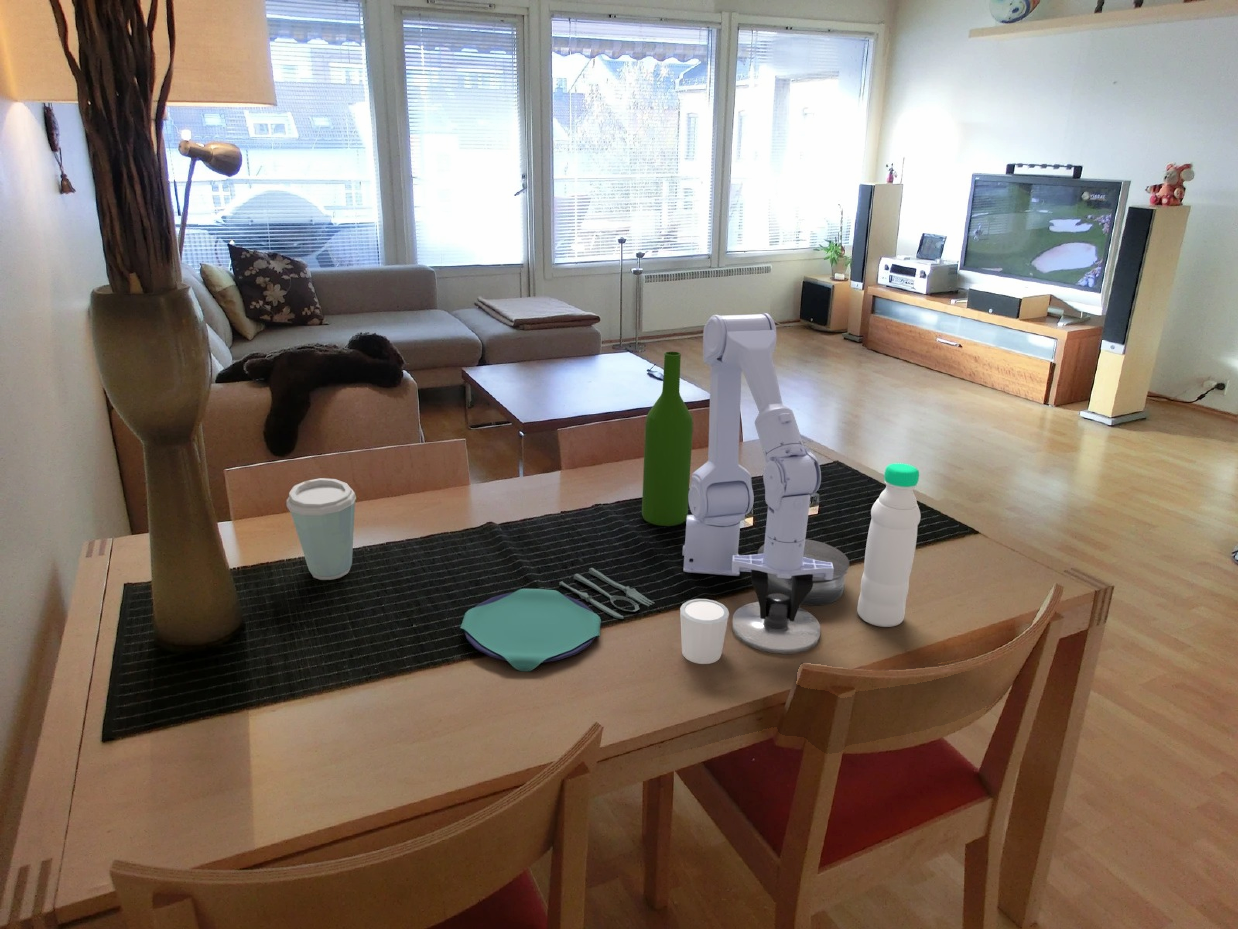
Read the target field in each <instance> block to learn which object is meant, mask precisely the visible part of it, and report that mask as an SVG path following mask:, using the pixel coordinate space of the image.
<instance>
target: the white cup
mask: <svg viewBox="0 0 1238 929" xmlns="http://www.w3.org/2000/svg"><path fill="white" fill-rule="evenodd" d="M679 612H680V613H679V614H680V616H679V617H680V635H681V636H680V637H681V638H680V639H681V640H680V641H681V653H682V656H683V657H684V658H685V659H686V660H688V661H689V662H692V663H695V664H698V665H699V664H700V665H705V664H706V665H708V664H709V665H710V664H713V663H716V662H717V661H718V660H720V658H721V657H722V653H723V647H724V643H725V642H724V641H725V638H726V632H727V626H728V621H729V616H730V612H729V609H728V608H727V607H726V606H725V605H724V604H723V603H721V602H719V601H716V600H713V599H708V598H695V599H689V600H687V601H686V602H684V603H682V605H681V606H680V608H679Z"/></svg>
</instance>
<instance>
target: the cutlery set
mask: <svg viewBox="0 0 1238 929" xmlns="http://www.w3.org/2000/svg"><path fill="white" fill-rule="evenodd" d="M588 573H589V575H592V576H595V577H596V578H598V579H600V580H601V581H603V582H604V583H606V584H608V585H610V586H612V587H614V588H616V589H619V590H621V591H623V593H625V596H622V595H610V594H609V593H608V592H607V591H605V590H604V589H602V588H601V587H599V586H598V585H597V584H595V583H593V582H592V581H590V580H589V579H587V578H585V577H584V576H582V575H581V574H579V573H575V574H573V579H574V580H576V581H578V582H581V583H582V584H585V585H587V586H588V587H590V588H592V589H593V590H596V591H597V592H599V593H600V594H602V595H604V596H605V597H607V598H608V599H610V603H611V604H612V605H613V606H614V608H616V609H618V610H622V611H624V612H637V611H638V610H640V607H639V604H638V603H640V604H642V605H644V606H647V607H650V606H653V605H654V604H655V603H656V602H654V601H652V600H650V599H649V598H647V597H646V596H645V595H643V594H641V592H639V591H637V589H636V588H630V586H629V585H627V586H625V585H622V584H620V583H618V582H616V581H614V580H613V579H611V578H610V577H607V576H606V575H604V574H603V573H602V572H601V571H598V570H596V569H595V568H593V567H590V568H588ZM558 583H559V587H560V586H562V587H565V588H567V589H569V590H571V591H572V592H574V593H576V594H577V595H579V597H580V598H581V599H582V600H585V601H586V603H590V604H591V605H593V606H594V607H596V608H597V609H599V610H601V611H603V612H604V613H606V614H607V615H610V616H612V617H613V618H615V619H620V620H624V615H621V614H620V613H618V612H616V611H615V610H613V609H611V608H609V607H607V606H606V605H604V604H603V603H600V602H598V601H597V600H595V599H594V598H593V595H592V594H591V595H589V594H588V593H587V592H582V591H579V590H577V589H575V588H573V587H571V586H570V585H568V584H566V583H565V582H564V581H563V580H562V581H559V582H558ZM616 600H618V601H619V600H620V601H626V602H628V603H630V604H632V605H633V606H634V609H633V610H630V609H625V608H622V607H620V606H617V605H616V604H615V603H614V601H616ZM635 601H636V602H635ZM637 602H638V603H637ZM461 622H462V623H461V624H460V627H459V629H460V630H462V631H464V635H465V638H466V640H467V641H468V642H469V643H470V645H472V646H473V647H474V648H475V650H478V651H479V652H481V653H483V654H485V655H487V656H489V657H491V658H494V659H498V660H502V661H507V662H508V663H509V664H510V666H512V668H514V669H515V670H517V671H519V672H531V671H533V670H534V669H535V668H537V667H538V666H540V664H541V663H548V662H555V661H559V660H562V659H565V658H569V657H570V656H571V657H572V656H575V655H577V654H578V653H580V652H582V651H583V650H584V649H586V648H587V647H589V646H590V645H591V644H592V643H593V641H594V640H595V638H596V637H597V638H599V637H601V624H602V619H601V617H600V616H599V615H598V614H597V613H595V612H594V611H593V609H591V608H590V607H588V606H587V605H586V604H585V603H584V602H583V601H580V600H578V599H575V598H573V597H571V596H568V595H566V594H563V593H561V592H559V591H558V590H554V589H545V588H544V589H542V588H520V589H517V590H516V591H514V592H508V593H503V594H500V595H496V596H493V597H490V598H489V599H486V600H484V601H482V602H480V603H477V605H475V607H472V608H470V609H468V610H467V611H466V612H465V613H464V616H463V619H462V620H461Z"/></svg>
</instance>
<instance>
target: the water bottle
mask: <svg viewBox="0 0 1238 929" xmlns="http://www.w3.org/2000/svg"><path fill="white" fill-rule="evenodd" d="M883 477H884V479H883V480H884V484H886V485H885V486H886V487H885V488H884V489H883V490H882V491H881V493H880V495H878V496H879V497H878V498H877V499H876V501H875V502H873V504H872V507H871V509H870V515H871V516H870V517H871V520H870V523H869V528H868V534H867V539H866V545H865V546H866V547H865V553H864V562H863V563H864V566H863V569H864V570H863V573H862V576H861V580H860V594H859V597H858V601H857V609H856V610H857V614H858V616H859V617H860V619H862V620H863V621H864V622H865V623H867V624H870V625H872V626H876V627H881V628H891V627H895V626H898V625H901V623H902V622H904V618H905V613H906V605H907V604H906V603H907V602H906V600H907V598H908V595H909V589H910V577H911V572H912V568H913V565H914V564H913V563H914V558H915V553H916V548H917V547H916V546H917V538H918V526H919V524H920V522H921V517H922V516H921V510H920V508H919V505H918V502H917V498H916V495H915V493H914V489H915V488H917V484H918V482H919V479H920V472H919V470H918V468H916V467H915V466H913V465H911V464H907V463H898V462H897V463H896V462H895V463H890V464H888V465H887V466H886V467H885V471H884V475H883Z"/></svg>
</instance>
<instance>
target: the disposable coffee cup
mask: <svg viewBox="0 0 1238 929" xmlns="http://www.w3.org/2000/svg"><path fill="white" fill-rule="evenodd" d="M285 500H286V507H287V509H288V511H289V512H290V514H291V517H292V518H291V519H292V521H293V524H294V527H295V530H296V533H297V538H298V540H299V543H300V545H301V549H302V553H303V556H304V559H305V562H306V565H307V568H308V571H309V572H310V574H311V575H312V578H314V579H318V580H320V581H327V580H329V581H331V580H336V579H340V578H342V577H344V576H345V575H347V574H349V572H350V570H351V567H352V565H353V549H354V548H353V547H354V531H355V530H354V529H355V528H354V527H355V526H354V525H355V510H356V508H355V507H356V500H357V496H356V492H355V491H354V490H353V488H351V487H350V485H349V484H348V483H347V482H344V481H341V480H338V479H336V478H324V477H322V478H321V477H320V478H315V479H310V480H305V481H302V482H300V483H298V484H295V485H294V486H293V487H292V488H291V490H290V491H289V492H288V497H287V499H285Z"/></svg>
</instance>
